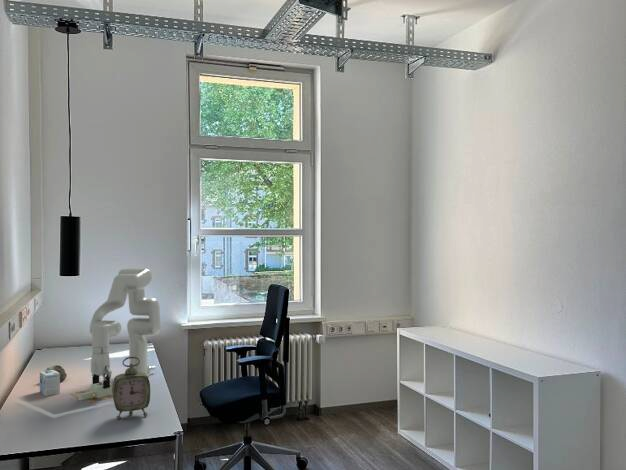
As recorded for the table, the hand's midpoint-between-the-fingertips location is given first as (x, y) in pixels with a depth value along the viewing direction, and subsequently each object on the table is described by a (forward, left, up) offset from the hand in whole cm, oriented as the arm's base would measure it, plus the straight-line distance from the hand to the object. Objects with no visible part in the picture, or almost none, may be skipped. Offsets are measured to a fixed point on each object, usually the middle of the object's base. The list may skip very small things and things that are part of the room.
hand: (101, 386), depth 265 cm
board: (-2, -3, -5) cm, 6 cm away
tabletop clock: (+6, +36, -6) cm, 37 cm away
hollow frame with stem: (+4, 0, -4) cm, 5 cm away
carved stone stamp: (0, -47, -6) cm, 48 cm away
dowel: (+6, +4, -4) cm, 8 cm away
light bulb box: (+13, -24, -6) cm, 28 cm away
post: (0, 0, -4) cm, 4 cm away
